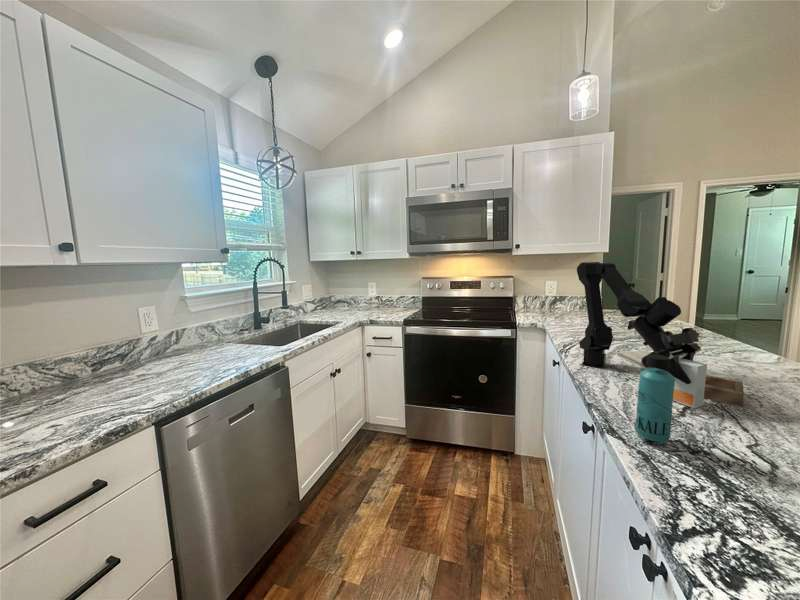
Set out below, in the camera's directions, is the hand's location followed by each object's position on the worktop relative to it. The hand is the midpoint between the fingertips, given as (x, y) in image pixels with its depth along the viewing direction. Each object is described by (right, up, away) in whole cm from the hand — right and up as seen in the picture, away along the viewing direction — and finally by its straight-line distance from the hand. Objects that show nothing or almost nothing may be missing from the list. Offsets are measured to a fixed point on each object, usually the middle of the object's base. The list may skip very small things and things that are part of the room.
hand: (694, 382), depth 89 cm
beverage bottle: (-23, -10, -15) cm, 29 cm away
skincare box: (0, -7, +2) cm, 7 cm away
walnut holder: (+12, -5, +8) cm, 16 cm away
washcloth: (+14, -2, +36) cm, 39 cm away
